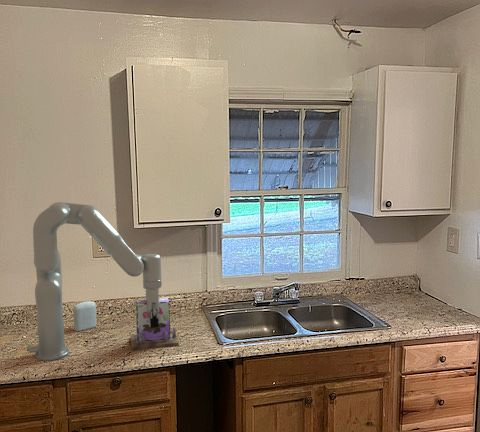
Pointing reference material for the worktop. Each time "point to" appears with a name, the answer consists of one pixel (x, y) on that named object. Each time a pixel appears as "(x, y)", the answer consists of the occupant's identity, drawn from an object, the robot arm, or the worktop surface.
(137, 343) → the grey tray
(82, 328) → the photo printer
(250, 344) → the worktop surface
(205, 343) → the worktop surface
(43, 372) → the worktop surface
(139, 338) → the candy box
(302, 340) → the worktop surface
